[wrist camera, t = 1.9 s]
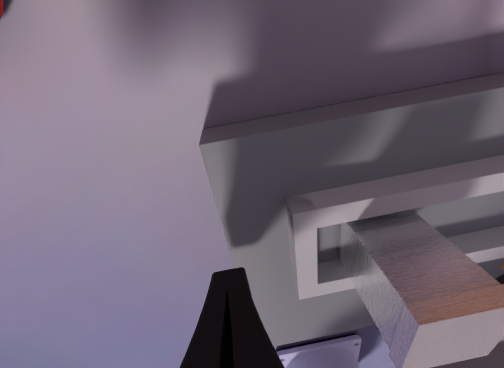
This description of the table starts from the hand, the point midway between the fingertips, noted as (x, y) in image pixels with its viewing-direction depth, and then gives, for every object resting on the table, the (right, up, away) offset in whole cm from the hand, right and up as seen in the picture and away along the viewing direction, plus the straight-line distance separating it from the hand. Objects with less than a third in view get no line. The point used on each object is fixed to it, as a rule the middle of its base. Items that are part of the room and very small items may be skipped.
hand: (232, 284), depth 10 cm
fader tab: (+7, +2, +1) cm, 7 cm away
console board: (+12, +2, +4) cm, 13 cm away
